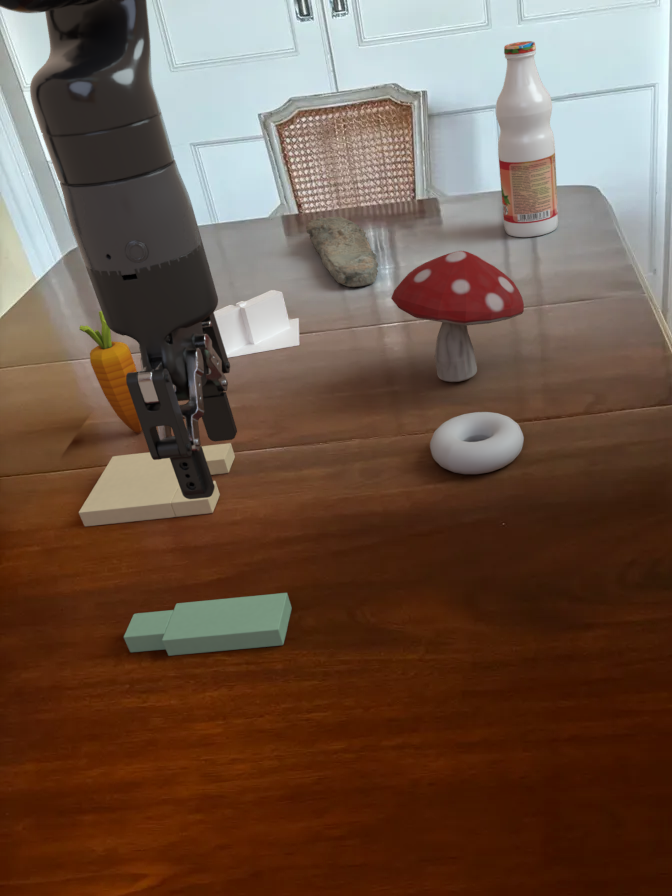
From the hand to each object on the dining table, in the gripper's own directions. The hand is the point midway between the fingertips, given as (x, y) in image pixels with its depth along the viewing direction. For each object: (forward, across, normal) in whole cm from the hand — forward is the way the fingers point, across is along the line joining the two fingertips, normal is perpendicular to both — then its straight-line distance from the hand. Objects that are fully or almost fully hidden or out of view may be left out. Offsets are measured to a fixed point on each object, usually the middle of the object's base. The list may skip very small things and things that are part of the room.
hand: (212, 465), depth 67 cm
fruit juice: (+16, -104, +30) cm, 109 cm away
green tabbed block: (+16, 0, -5) cm, 17 cm away
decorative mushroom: (+16, -47, +18) cm, 53 cm away
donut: (+16, -26, +19) cm, 36 cm away
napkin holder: (+16, -68, -14) cm, 71 cm away
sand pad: (+16, -26, -16) cm, 34 cm away
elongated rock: (+16, -101, -3) cm, 102 cm away
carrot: (+16, -41, -23) cm, 50 cm away
